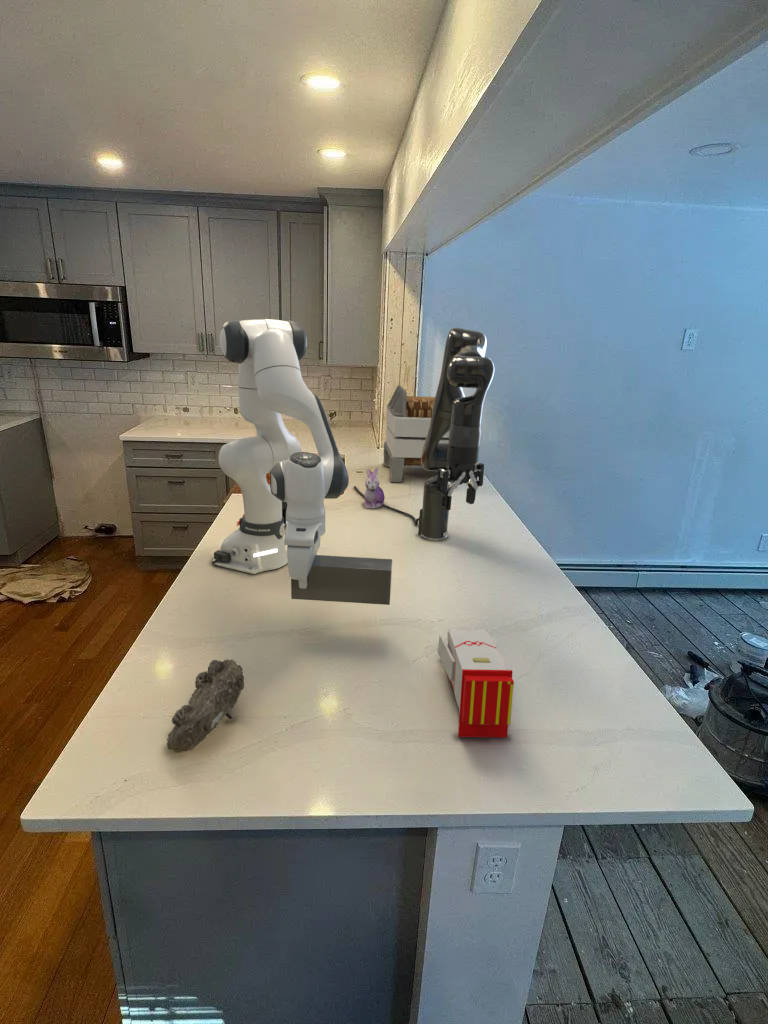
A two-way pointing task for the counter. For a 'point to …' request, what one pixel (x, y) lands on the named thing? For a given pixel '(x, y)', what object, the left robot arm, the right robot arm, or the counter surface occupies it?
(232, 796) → the counter surface
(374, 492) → the figurine
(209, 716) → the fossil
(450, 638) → the toy
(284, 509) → the figurine character
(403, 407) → the grey crate
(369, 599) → the box
